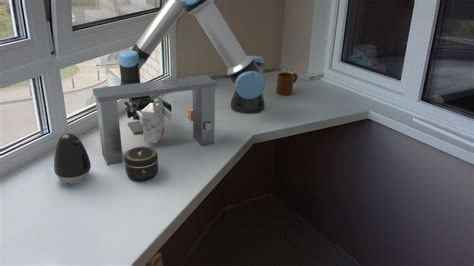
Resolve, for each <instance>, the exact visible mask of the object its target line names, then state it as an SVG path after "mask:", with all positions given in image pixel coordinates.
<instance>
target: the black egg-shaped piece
mask: <svg viewBox="0 0 474 266" xmlns="http://www.w3.org/2000/svg"><path fill="white" fill-rule="evenodd" d="M53 157H54V159H53V170H54V174H55V175H56V176H57V179H59V180H60V181H61V182H63V183H65V184H71V185H73V184H78V183H81V182H83V181H84V180H86V179H87V177H88V176H89V174H90V170H91V167H92V166H91V160H90V157H89V154H88V152H87V150H86V147H85V146H84V144H83V142H82V140H81V139H80V137H78V136H77V135H76V134H74V133H71V132H66V133H63V134H61V136H60V137H59V139H58V140H57V143H56V145H55V149H54V155H53Z"/></svg>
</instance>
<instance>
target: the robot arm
mask: <svg viewBox="0 0 474 266" xmlns="http://www.w3.org/2000/svg"><path fill="white" fill-rule="evenodd" d="M184 11H186V12H187V14H190V15H193V16H194V17H195V18H196V20H197V22H198V23H199V25H200V26H201V28H202V30H203V32H205V34H206V35H207V36H206V37H208V39H209V40H210V42H211V44H212V45H213V47H214V48H215V50H216V51H217V53H218V54H219V55H220V58H221V59H222V61H223V63H224V64H225V66H226V67H227V73H226V74H227V75H228V77H229V79H230V80H231V82H232V83H233V85H234V91H233V95H232V97H231V100H230V109H231V110H232V111H234V112H237V113H242V114H257V113H260V112H263V111H264V110H265V105H266V104H265V103H266V102H265V99H264V96H263V92H264V89H265V86H266V80H265V77H264V76H265V75H264V58H263V57H261V56H259V55H247V54H246V53H245V51H244V50H243V47H242V46H241V45H240V43H239V42H238V39H237V38H236V36H235V34H234V33H233V32H232V30H231V28H230V27H229V24H228V23H227V22H226V20H225V19H224V17H223V15H222V14H221V12H220V11H219V9H218V7H217V6H216V4H215V2H214V0H166V1H165V3H163V5H162V7H161V8H160V10H159V11H158V12H157V14H156V15H155V17H154V18H153V19H152V20H151V22H150V23H149V25H148V27H146V29H145V30H144V32H143V33H142V34H141V36H140V37H139V39H137V41H136V43H135V44H134V45H133V46H132V48H131V49H129V50H123V51H120V52H119V54H118V64H119V75H120V83H119V85H127V84H135V83H141V72H140V70H141V68H143V66H144V65H145V64H146V63H147V61H148V60H149V58H150V57H151V55H152V54H153V53H154V51H155V50H156V48H157V47H158V46H159V45H160V43H161V42H162V41H163V39H164V38H165V36H166V35H167V34H168V33H169V32H170V30H171V29H172V28H173V26H174V25H175V23H177V21H178V19H179V18H180V17H181V15H183V13H184ZM160 97H161V96H159V97H157V98H156V99H154V98H151V95H150V96H142V97H135V98H128V99H126V101H124V110H126V114H127V115H126V116H127V119H131V118H132V119H133V121H140V123H141V124H142V125H145V124H144V117H143V115H142V114H141V111H142V110H143V109H144V108H145V107H146V106H148V105H149V104H150V103H154V102H155V101H156V100H157V99H159V98H160ZM162 102H163V115H164V117H165V118H166V119H167V120H168V121H172V110H173V109H172V104H171V103H169V102H167V101H165V100H163V99H162ZM157 103H158V104H159V102H157ZM131 108H133V109H132V110H131Z"/></svg>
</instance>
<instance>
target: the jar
mask: <svg viewBox="0 0 474 266" xmlns="http://www.w3.org/2000/svg"><path fill="white" fill-rule="evenodd" d="M123 157H124V158H123V163H124V166H125V174H126V176H127V178H128V179H130V180H131V181H133V182H135V183H136V182H138V183H145V182H149V181H151V180H154V179H155V178H156V177H157V174H158V172H159V171H158V170H159V160H158V159H159V157H158V151H157V149H155V148H153V147H150V146H135V147H131V148H129V149H128V150H126V152H125V153H124V156H123Z"/></svg>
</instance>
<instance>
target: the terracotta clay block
mask: <svg viewBox="0 0 474 266" xmlns="http://www.w3.org/2000/svg"><path fill="white" fill-rule="evenodd" d="M187 119H188V120H189V121H190V122H193V106H191V107H187ZM203 126H204V127H205V128H206V129H207V130H210V129H212V125H211V124H210V123H209V122H203Z"/></svg>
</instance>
